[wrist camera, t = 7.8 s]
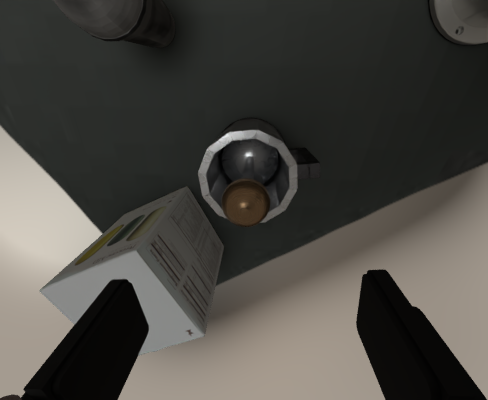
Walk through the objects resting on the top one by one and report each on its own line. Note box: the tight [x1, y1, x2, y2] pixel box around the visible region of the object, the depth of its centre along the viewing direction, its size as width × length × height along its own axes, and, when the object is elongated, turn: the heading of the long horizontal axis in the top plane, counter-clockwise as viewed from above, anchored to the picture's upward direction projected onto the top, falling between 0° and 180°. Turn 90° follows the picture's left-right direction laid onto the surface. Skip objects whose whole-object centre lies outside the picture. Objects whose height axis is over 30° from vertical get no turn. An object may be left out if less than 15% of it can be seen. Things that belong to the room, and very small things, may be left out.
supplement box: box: [40, 186, 224, 355], centre depth 33 cm, size 13×13×18 cm
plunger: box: [221, 138, 278, 227], centre depth 25 cm, size 8×8×16 cm
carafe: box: [198, 118, 320, 223], centre depth 29 cm, size 13×10×12 cm
